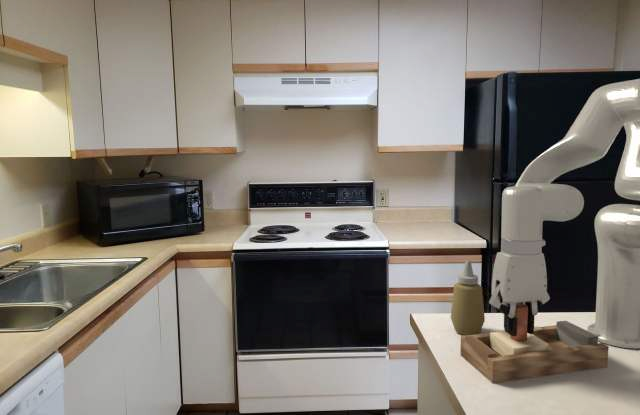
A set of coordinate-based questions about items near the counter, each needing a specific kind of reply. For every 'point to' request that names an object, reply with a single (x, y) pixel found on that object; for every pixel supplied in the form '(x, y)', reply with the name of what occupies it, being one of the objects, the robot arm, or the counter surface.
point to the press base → (538, 354)
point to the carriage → (517, 337)
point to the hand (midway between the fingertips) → (518, 332)
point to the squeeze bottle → (467, 303)
